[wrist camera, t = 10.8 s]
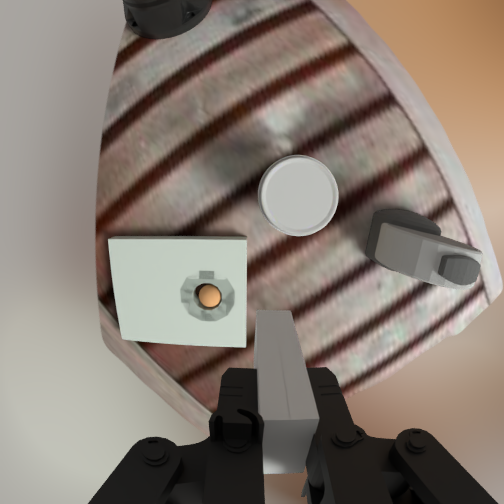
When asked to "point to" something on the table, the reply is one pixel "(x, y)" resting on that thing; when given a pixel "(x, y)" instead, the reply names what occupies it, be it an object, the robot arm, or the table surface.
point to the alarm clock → (421, 250)
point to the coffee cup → (298, 195)
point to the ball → (210, 295)
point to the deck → (180, 288)
